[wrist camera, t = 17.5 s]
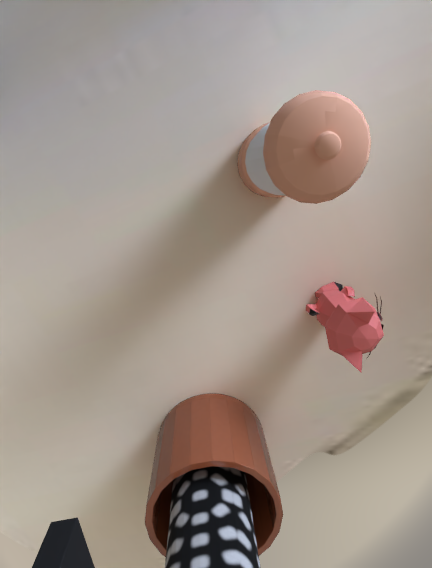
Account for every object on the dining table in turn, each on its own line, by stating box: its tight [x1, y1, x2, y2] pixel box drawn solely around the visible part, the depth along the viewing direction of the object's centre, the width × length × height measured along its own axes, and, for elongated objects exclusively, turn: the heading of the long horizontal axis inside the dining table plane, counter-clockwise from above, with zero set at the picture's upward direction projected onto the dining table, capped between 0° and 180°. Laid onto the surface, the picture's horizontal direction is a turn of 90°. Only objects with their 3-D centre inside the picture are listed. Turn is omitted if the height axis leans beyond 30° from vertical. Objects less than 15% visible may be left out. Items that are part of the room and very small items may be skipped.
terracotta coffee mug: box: [145, 394, 283, 557], centre depth 44 cm, size 19×14×12 cm
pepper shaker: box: [237, 90, 371, 204], centre depth 31 cm, size 7×7×19 cm
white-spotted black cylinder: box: [165, 466, 260, 568], centre depth 39 cm, size 8×8×20 cm
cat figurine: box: [306, 282, 384, 372], centre depth 39 cm, size 7×7×12 cm
